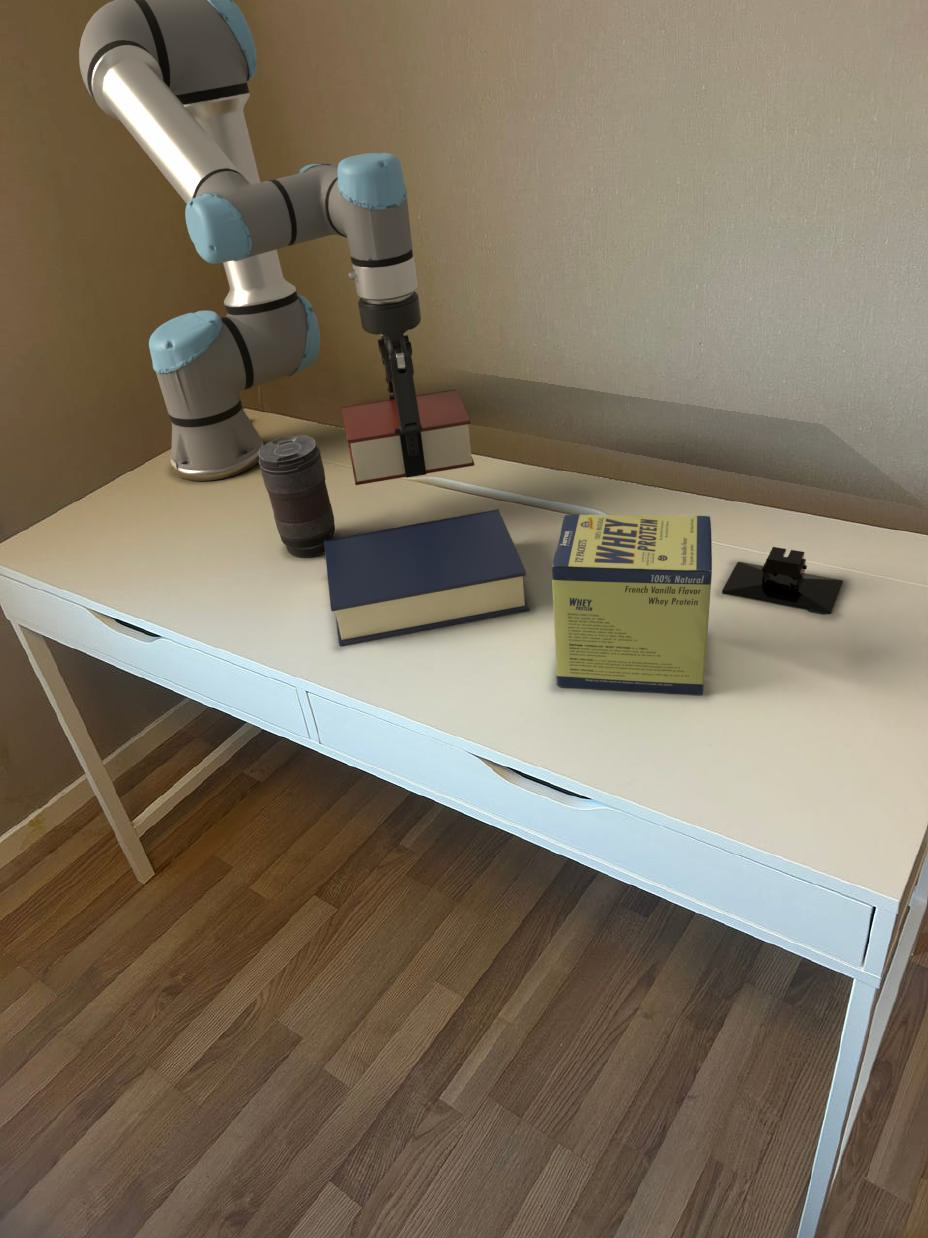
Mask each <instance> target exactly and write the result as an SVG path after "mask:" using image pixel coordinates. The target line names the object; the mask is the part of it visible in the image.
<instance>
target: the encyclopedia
mask: <svg viewBox="0 0 928 1238" xmlns="http://www.w3.org/2000/svg"><path fill="white" fill-rule="evenodd" d="M324 546H325V553H324V555H325V566H326V575H327V585H328V586H327V587H328V591H329V592H328V595H329V605H330V611H331V612H335V613H334V614H335V621H336V630H337V639H338V640H337V641H338V646H339V647H342V646H346V645H353V644H357V643H358V644H359V643H363V642H368V641H375V640H379V639H384V638H390V637H394V636H401V635H405V634H412V633H417V632H422V631H426V630H432V629H436V628H437V629H438V628H443V627H448V626H454V625H458V624H459V625H460V624H464V623H470V622H475V621H479V620H480V621H481V620H485V619H486V620H487V619H490V618H491V619H492V618H497V617H502V616H508V615H512V614H518V613H522V612H523V613H524V612H529V611H530V607H529V606H530V605H529V604H528V602H527V599H526V597H525V591H524V590H525V589H524V578H523V577H525V576H527V571H526V568H525V566H524V564H523V562H522V560H521V557H520V554H519V553H518V551H517V548H516V546H515V544H514V541H513V539H512V536H511V534H510V532H509V530H508V527H507V525H506V522H505V521H504V517H503V516H502V514H501V511H500V509H498V508H496V509H490V510H485V511H480V512H475V513H468V514H463V515H459V516H458V515H457V516H451V517H447V518H441V519H435V520H430V521H425V522H418V523H413V524H408V525H401V526H397V527H390V528H385V529H379V530H373V531H368V532H361V533H356V534H352V535H345V536H341V537H334V539H328V540H324Z"/></svg>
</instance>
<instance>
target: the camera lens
mask: <svg viewBox="0 0 928 1238" xmlns="http://www.w3.org/2000/svg"><path fill="white" fill-rule="evenodd" d="M263 445H264V446H263V447H262V448H261V449H260V451H259V463H258V466H259V468H260V472H261V476H262V479H263V483H264V487H265V489H266V492H267V494H268V496H269V501H270V505H271V508H272V512H273V516H274V517H273V519H274V522H275V526H276V529H277V532H278V534H279V537H280V540H281V542H282V543H283V544H284V545H285V549H286V550H287V552H288V553H289V554H290V555H291V556H292V557H293V556H294V557H296V558H311V557H317V556H321V555H322V554H325V546H324V540H328V539H334V538H335V533H336V525H335V516H334V512H333V506H332V503H331V500H330V496H329V491H328V488H327V487H328V486H327V482H326V474H325V473H326V472H325V467H324V464H323V458H322V454H321V450H320V447H319V446H318V445H317V441H316V440H315V439H314V438H313V437H311V436H309V435H304V434H303V435H302V434H298V435H297V434H294V435H293V434H292V435H287V436H282V437H279V438H275V439H273V440H272V441H269V442H267V443H265V444H263Z"/></svg>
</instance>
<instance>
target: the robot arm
mask: <svg viewBox="0 0 928 1238" xmlns="http://www.w3.org/2000/svg"><path fill="white" fill-rule="evenodd" d="M79 44H80V45H79V50H78V51H79V52H78V57H79V61H78V63H79V71H80V74H81V77H82V81H83V83H84V85H85V87H86V89H87V92H88V94H89V95H90V97H91V98H92V100H93V101H94V102H95V103H96V105H97V106H98V107H99V108H100V109H101V110H102V111H103V112H104V113H105V114H106V115H107V116H109V117H110V118H112V119H114V120H117V121H120V122H121V123H122V125H123V126H124V128H126V130H127V131H128V132H129V134H130V135H131V136H132V137H133V138H134V140H135V141H136V142H137V144H138V145H139V146H140V147H141V148H142V150H143V151H144V153H145V154H146V155H147V156H148V157H149V159H150V160H151V161H152V162H153V163H154V165H155V166H156V168H157V169H158V170H159V171H160V172H161V174H162V175H163V176H164V178H165V179H166V180H167V181H168V182H169V184H170V185H171V187H172V188H173V189H174V190H175V191H176V193H177V194H178V195H179V196H180V197H181V199H182V200H183V201H184V203H185V204H186V206H185V212H184V215H185V223H186V229H187V232H188V235H189V238H190V240H191V242H192V243H193V245H194V247H195V251H196V252H197V253H198V255H199V256H200V257H201V259H202V260H203V261H204V262H207V263H208V264H211V265H218V264H223V267H224V271H225V274H226V275H225V276H226V280H227V282H228V285H229V291H228V293H227V295H226V297H225V298H224V300H223V305H224V308H225V311H226V315H225V316H222V317H221V316H219V314H218V313H217V312H215V311H213V310H198V311H196V312H188V313H184V314H182V315H178V316H176V317H174V318H171V319H169V320H167V321H166V322H163V324H161V325H160V326H158V327H157V328H156V329H155V330H154V331H153V333H152V334H151V335H150V337H149V339H148V348H149V353H150V357H151V358H150V359H151V361H152V369H153V371H154V372H155V374H156V376H157V381H158V384H159V387H160V390H161V394H162V397H163V401H164V403H165V407H166V410H167V414H168V416H169V419H170V422H171V449H170V450H171V453H170V457H169V459H170V465H171V466H172V469H173V472H174V473H175V475H177V476H178V477H180V478H182V479H184V480H188V481H195V482H196V481H197V482H207V481H216V480H221V479H222V480H223V479H225V478H229V477H232V476H236V475H239V474H241V473H244V472H246V471H248V470H250V469H252V468H254V467H255V466H256V465H257V464H259V451H260V449H261V448H262V447H263V446H264V445H265V444H264V442H263V441H264V440H263V439H262V437H261V435H260V434H259V432H258V431H257V429H256V427H255V426H254V425H253V423H252V421H251V420H250V418H249V416H248V415H247V413H246V412H245V410H244V408H243V404H242V401H241V395H240V393H241V392H243V391H246V390H249V389H252V388H255V387H258V386H261V385H263V384H267V383H271V382H274V381H277V380H280V379H283V378H286V377H292V376H294V375H296V374H297V373H299V372H302V371H305V370H308V369H309V368H311V367H312V366H313V365H314V364H315V362H316V361H317V358H318V356H319V353H320V347H321V334H320V333H321V332H320V325H319V322H318V318H317V315H316V313H315V312H314V309H313V308H314V307H313V306H312V303H311V302H310V301H309V299H307V298H306V297H305V296H304V295H300V294H298V293H297V289H296V286H295V285H293V284H292V283H290V282H289V281H287V279H285V278H284V274H283V270H282V266H281V262H280V259H279V258H280V257H279V254H278V250H279V249H283V248H286V247H291V246H292V247H293V246H295V245H298V244H303V243H306V242H310V241H315V240H318V239H321V238H325V237H329V236H335V235H337V236H340V237H344V238H346V239H347V244H348V248H349V254H350V262H351V265H352V269H353V270H352V271H349V272H348V279H349V280H355V281H354V283H355V290H356V295H357V296H358V297H359V300H358V301H357V306H358V311H359V318H360V324H361V328H362V329H363V331H365V332H366V333H368V334H371V335H375V336H378V335H380V339H377V347H378V351H379V353H380V357H381V361H382V364H383V366H384V372H385V378H384V379H385V383H386V384H387V387H386V389H387V392H388V394H389V395H388V400H390V399H395V402H396V408H397V413H398V419H399V425H400V427H399V429H395V435H397V434H400V441H401V448H402V455H403V462H404V469H405V475H406V477H405V478H407V479H409V478H413V477H419V476H425V475H427V474H426V468H425V460H424V452H423V445H422V437H421V432H422V425H421V424H420V417H419V411H418V405H417V399H416V395H417V392H416V387H415V386H416V385H415V381H414V375H415V370H414V369H415V368H414V365H413V358H412V355H413V346H412V342H411V341H410V338H409V334H405V333H406V332H408V331H409V330H414V329H415V328H417V327H418V326H419V325H420V323H421V321H422V314H421V306H420V299H419V294H418V293H417V292H416V290H417V289H418V278H417V270H416V262H415V260H416V259H415V255H414V253H413V241H412V232H411V222H410V221H411V220H410V213H409V204H408V190H407V187H406V183H405V179H404V174H403V173H404V172H403V166H402V163H401V160H400V159H399V158H398V157H397V155H395V154H392V153H389V152H380V153H379V152H367V153H360V154H355V155H351V156H348V157H346V158H343V159H342V160H340V161H339V162H338V165H335V164H331V163H324V162H322V163H312V164H307V165H305V166H302V168H300V169H299V170H298V171H297V173H295V174H291V175H287V176H282V177H279V178H275V179H274V178H273V179H269V180H265V181H261V179H260V175H259V171H258V167H257V162H256V158H255V154H254V150H253V146H252V142H251V137H250V133H249V129H248V126H247V121H246V117H245V113H244V108H245V106H246V104H247V102H248V100H249V98H250V96H251V94H250V90H249V84H248V83H249V82H250V81H252V79H254V78H255V76H256V74H257V71H258V63H257V59H258V57H257V56H258V55H257V49H256V46H255V41H254V38H253V35H252V32H251V29H250V26H249V24H248V21H247V20H246V18H245V16H244V14H243V12H242V10H241V9H240V7H239V5H237V4H236V3H235V1H234V0H112V1H109V2H108V3H105V4H104V5H103V6H101V7H100V8H99V9H98V10H97V11H96V12H94V13H93V15H92V16H91V18H90V19H89V20H88V22H87V23H86V25H85V28H84V30H83V33H82V35H81V39H80V43H79ZM404 334H405V335H404Z"/></svg>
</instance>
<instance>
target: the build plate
mask: <svg viewBox="0 0 928 1238" xmlns="http://www.w3.org/2000/svg"><path fill="white" fill-rule="evenodd" d="M805 552H806V551H801V550H796V549H795V550H794V549H790V551H789V552H788V553H789V554H788V555H787V556H785V555H786V553H787V548H784V547H778V546H777V547H776V546H772V548H771V550H770V552H769V554H768V556H767V558H766V559H765V562H764V564H763V565H760V564H755V563H750V562H749V563H748V562H744V561H737V562H736V564H735V566H734V568H733V569H732V571H731V573H730V575H729V577H728V579H727V581H726V582H725V584H724V586H723V588H722V590H721V594H722V595H726V596H730V597H736V598H740V599H741V598H743V599H747V600H752V601H758V602H763V603H767V604H774V605H778V606H783V607H788V608H793V609H799V610H804V611H807V612H809V613H812V614H818V615H822V616H826V615H832V613H833V610H834V608H835V606H836V603H837V600H838V597H839V596H840V595H839V594H840V592H841V589H842V587H843V584H844V580H843V579H841V578H840V579H839V578H835V577H828V576H824V575H823V576H822V575H818V574H817V575H816V574H810V573H805V572H806V570H807V569H808V565H807V559H806V558H805Z"/></svg>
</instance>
